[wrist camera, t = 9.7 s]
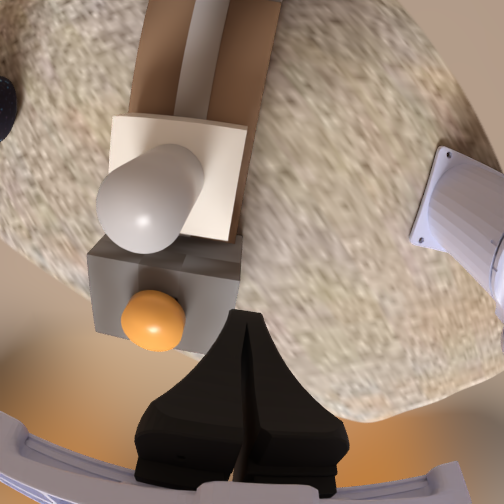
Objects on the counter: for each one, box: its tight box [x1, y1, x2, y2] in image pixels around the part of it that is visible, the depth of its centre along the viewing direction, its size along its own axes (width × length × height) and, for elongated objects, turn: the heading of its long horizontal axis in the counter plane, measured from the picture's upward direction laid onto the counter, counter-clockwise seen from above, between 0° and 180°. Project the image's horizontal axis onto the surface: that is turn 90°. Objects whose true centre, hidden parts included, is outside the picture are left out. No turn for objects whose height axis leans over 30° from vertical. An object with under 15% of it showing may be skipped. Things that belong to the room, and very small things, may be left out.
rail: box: [87, 0, 282, 354], centre depth 16 cm, size 9×26×6 cm, turn 170°
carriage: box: [96, 113, 248, 254], centre depth 15 cm, size 7×6×8 cm
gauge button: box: [121, 290, 186, 352], centre depth 18 cm, size 4×4×3 cm
